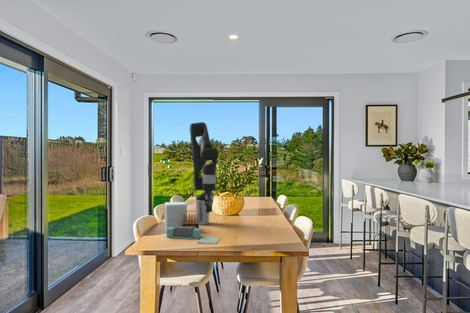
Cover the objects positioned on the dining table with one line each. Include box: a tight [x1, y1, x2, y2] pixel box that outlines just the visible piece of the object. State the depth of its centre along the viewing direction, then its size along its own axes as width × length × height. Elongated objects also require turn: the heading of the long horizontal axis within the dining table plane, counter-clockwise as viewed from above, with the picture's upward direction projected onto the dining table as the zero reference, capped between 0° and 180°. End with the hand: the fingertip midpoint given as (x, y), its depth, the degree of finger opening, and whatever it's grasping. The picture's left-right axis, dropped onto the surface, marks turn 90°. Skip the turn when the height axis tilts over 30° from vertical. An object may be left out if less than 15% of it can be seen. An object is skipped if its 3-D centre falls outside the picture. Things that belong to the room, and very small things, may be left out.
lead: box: [174, 226, 194, 239], centre depth 198 cm, size 4×11×6 cm, turn 82°
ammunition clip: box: [182, 212, 200, 229], centre depth 211 cm, size 11×2×12 cm, turn 96°
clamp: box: [166, 227, 202, 240], centre depth 197 cm, size 8×20×5 cm, turn 81°
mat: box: [196, 236, 221, 245], centre depth 189 cm, size 12×11×1 cm
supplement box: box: [164, 201, 188, 233], centre depth 218 cm, size 13×13×18 cm
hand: (209, 211), depth 189 cm, fingers open, 4 cm apart
